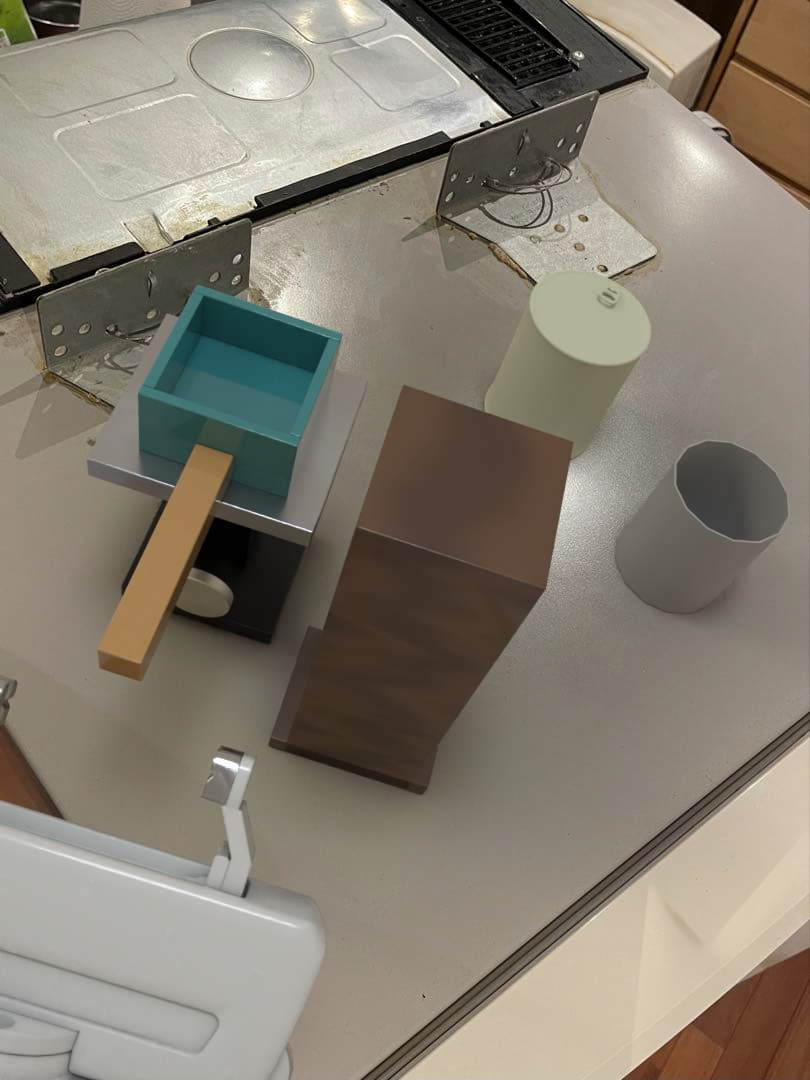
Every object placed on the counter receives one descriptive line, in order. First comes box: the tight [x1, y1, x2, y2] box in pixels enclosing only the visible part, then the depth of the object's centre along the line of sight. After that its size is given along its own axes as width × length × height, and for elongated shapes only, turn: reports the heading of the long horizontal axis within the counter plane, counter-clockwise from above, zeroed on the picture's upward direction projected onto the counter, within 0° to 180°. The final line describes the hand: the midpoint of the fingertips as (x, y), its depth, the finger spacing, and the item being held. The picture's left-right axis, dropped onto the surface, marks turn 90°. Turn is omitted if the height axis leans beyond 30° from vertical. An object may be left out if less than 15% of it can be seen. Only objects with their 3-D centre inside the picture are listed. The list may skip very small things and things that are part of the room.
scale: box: [86, 313, 369, 645], centre depth 60 cm, size 12×11×16 cm
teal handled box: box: [96, 284, 344, 682], centre depth 48 cm, size 8×20×4 cm, turn 166°
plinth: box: [268, 384, 573, 795], centre depth 52 cm, size 10×8×26 cm
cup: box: [615, 438, 791, 614], centre depth 70 cm, size 8×8×10 cm
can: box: [483, 269, 652, 460], centre depth 75 cm, size 9×9×12 cm
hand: (116, 714), depth 37 cm, fingers open, 8 cm apart
